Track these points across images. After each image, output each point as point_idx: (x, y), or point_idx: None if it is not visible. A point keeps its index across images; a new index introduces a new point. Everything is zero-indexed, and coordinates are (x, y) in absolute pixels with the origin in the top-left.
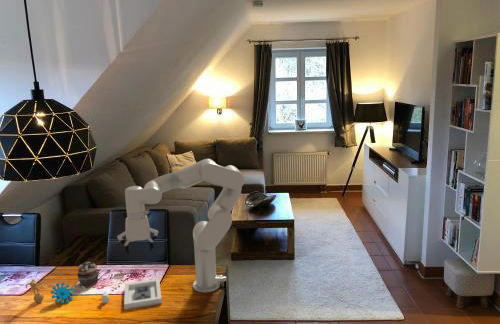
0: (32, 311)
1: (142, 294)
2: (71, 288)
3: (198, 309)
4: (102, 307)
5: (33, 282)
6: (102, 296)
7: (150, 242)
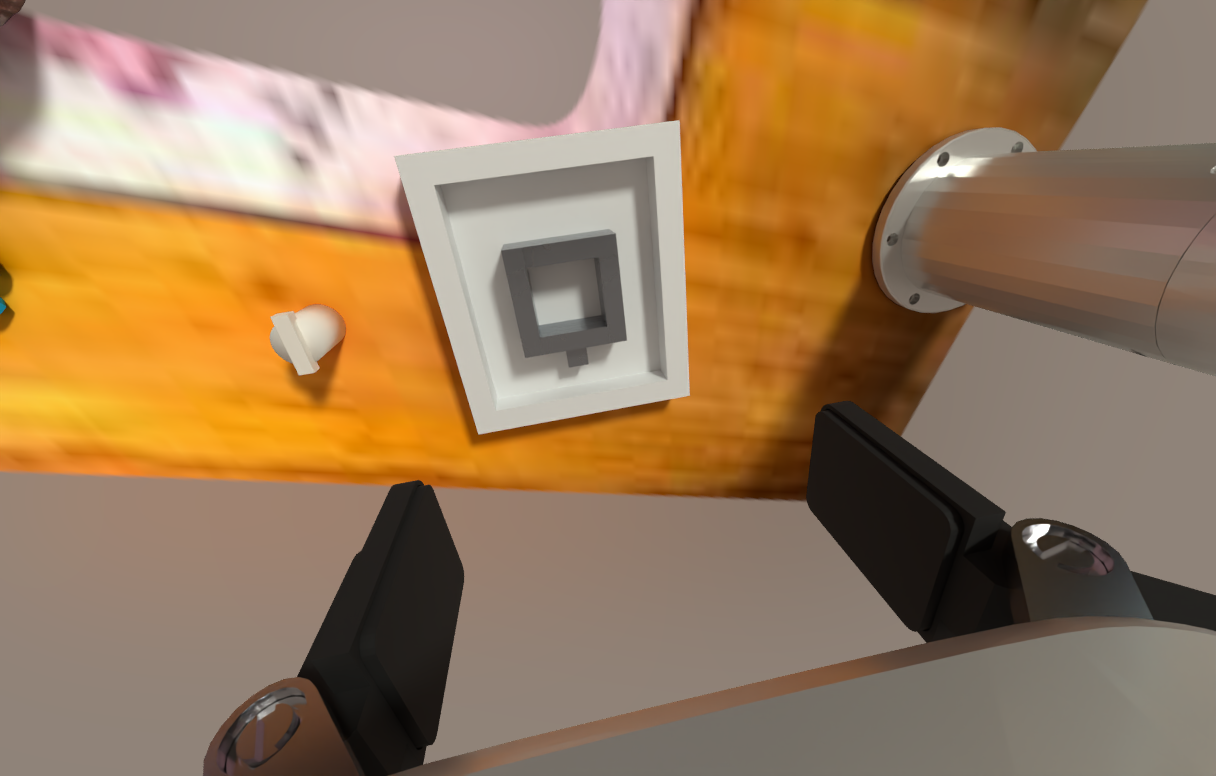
0: None
1: (573, 346)
2: None
3: None
4: (331, 384)
5: None
6: (287, 360)
7: (948, 624)
